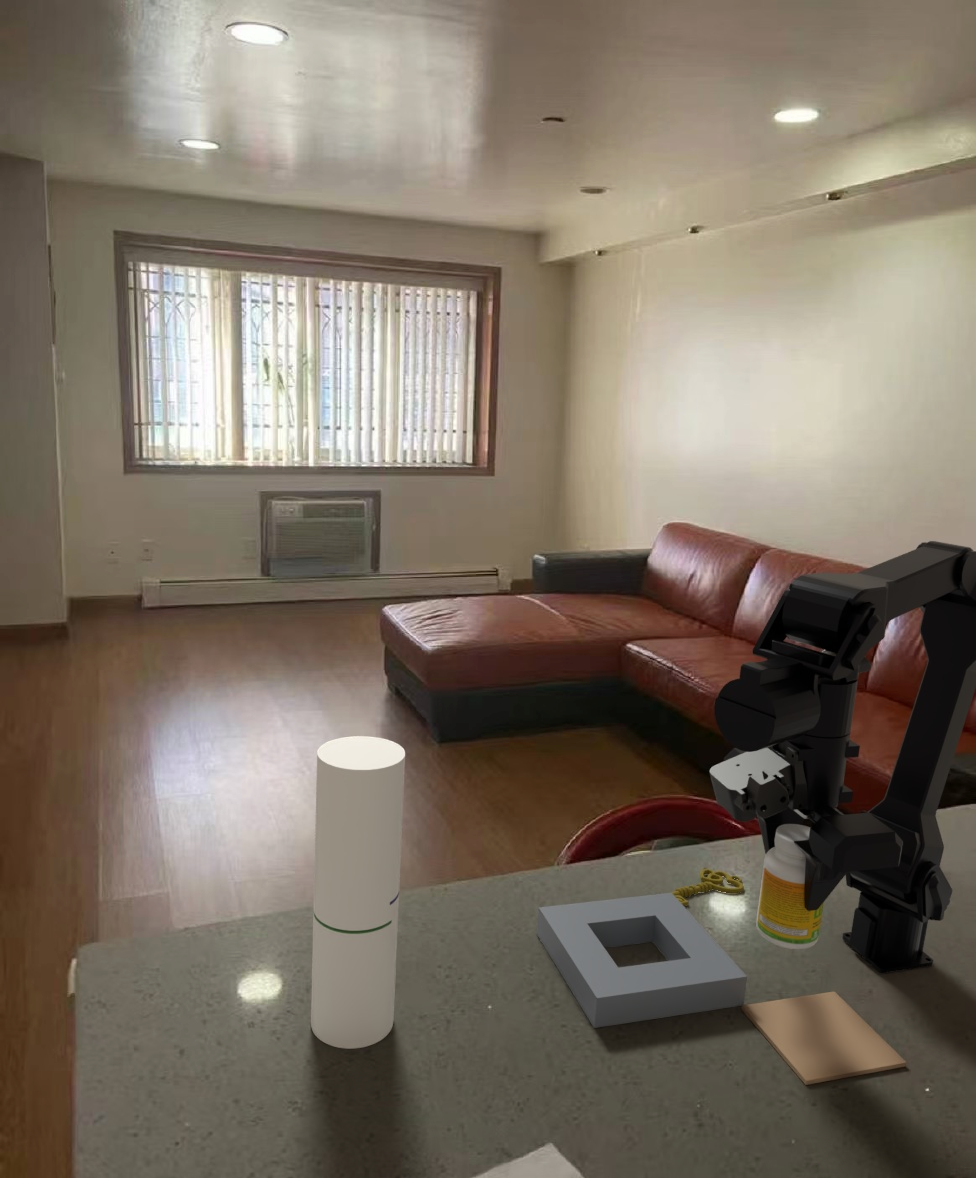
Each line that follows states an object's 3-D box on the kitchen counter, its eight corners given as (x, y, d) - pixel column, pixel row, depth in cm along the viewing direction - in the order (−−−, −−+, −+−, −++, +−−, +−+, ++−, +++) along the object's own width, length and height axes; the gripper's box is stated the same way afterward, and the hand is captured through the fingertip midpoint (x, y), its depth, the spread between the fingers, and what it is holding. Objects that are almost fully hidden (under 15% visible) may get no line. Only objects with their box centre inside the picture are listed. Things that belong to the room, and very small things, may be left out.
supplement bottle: (821, 956, 85) (835, 853, 82) (756, 944, 86) (769, 843, 84) (815, 922, 90) (829, 824, 87) (754, 912, 91) (766, 815, 89)
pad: (833, 994, 94) (834, 991, 94) (905, 1066, 84) (906, 1062, 84) (741, 1009, 91) (741, 1005, 91) (805, 1084, 81) (806, 1080, 81)
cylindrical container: (406, 1007, 88) (419, 745, 83) (371, 1057, 81) (382, 776, 76) (335, 987, 90) (342, 730, 85) (295, 1034, 84) (300, 759, 78)
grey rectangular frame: (668, 917, 105) (671, 892, 105) (743, 1004, 91) (747, 976, 91) (536, 933, 101) (538, 907, 100) (594, 1027, 87) (596, 997, 86)
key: (673, 903, 106) (644, 881, 111) (671, 914, 107) (643, 891, 111) (754, 883, 112) (724, 863, 116) (753, 893, 112) (723, 873, 117)
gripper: (679, 692, 90) (663, 848, 93) (791, 777, 72) (767, 965, 76) (787, 687, 93) (768, 839, 96) (920, 768, 75) (890, 949, 79)
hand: (792, 891), depth 87 cm, fingers closed on supplement bottle, 5 cm apart
